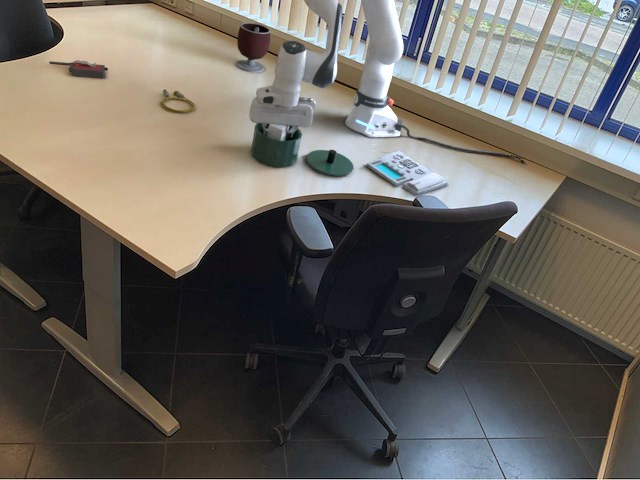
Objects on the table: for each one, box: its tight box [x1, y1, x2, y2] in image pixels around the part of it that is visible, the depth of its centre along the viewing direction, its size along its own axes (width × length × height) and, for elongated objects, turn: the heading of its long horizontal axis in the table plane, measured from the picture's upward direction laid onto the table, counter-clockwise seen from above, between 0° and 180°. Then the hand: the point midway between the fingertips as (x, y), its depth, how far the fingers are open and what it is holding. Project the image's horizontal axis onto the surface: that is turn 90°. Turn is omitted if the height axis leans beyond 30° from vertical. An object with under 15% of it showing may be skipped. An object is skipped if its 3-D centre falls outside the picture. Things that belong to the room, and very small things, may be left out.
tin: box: [250, 123, 303, 169], centre depth 180 cm, size 15×15×10 cm
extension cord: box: [160, 89, 196, 114], centre depth 198 cm, size 12×16×2 cm
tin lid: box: [306, 149, 354, 177], centre depth 185 cm, size 16×16×5 cm
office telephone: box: [366, 150, 449, 196], centre depth 192 cm, size 23×3×20 cm
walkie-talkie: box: [48, 59, 109, 79], centre depth 201 cm, size 9×4×20 cm
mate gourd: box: [235, 22, 271, 73], centre depth 237 cm, size 16×14×20 cm
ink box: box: [267, 124, 289, 141], centre depth 179 cm, size 8×5×12 cm, turn 166°
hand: (277, 135), depth 179 cm, fingers open, 7 cm apart
